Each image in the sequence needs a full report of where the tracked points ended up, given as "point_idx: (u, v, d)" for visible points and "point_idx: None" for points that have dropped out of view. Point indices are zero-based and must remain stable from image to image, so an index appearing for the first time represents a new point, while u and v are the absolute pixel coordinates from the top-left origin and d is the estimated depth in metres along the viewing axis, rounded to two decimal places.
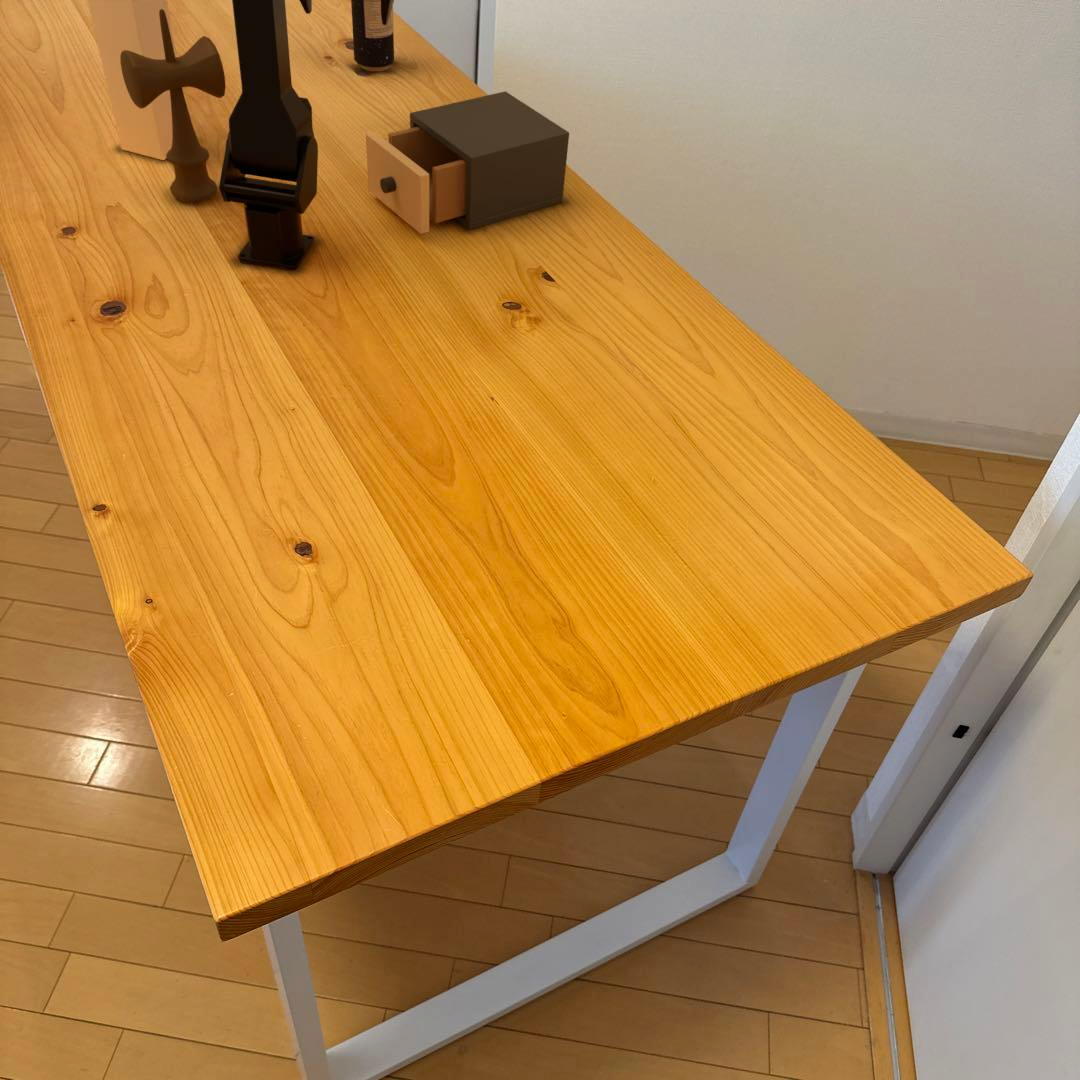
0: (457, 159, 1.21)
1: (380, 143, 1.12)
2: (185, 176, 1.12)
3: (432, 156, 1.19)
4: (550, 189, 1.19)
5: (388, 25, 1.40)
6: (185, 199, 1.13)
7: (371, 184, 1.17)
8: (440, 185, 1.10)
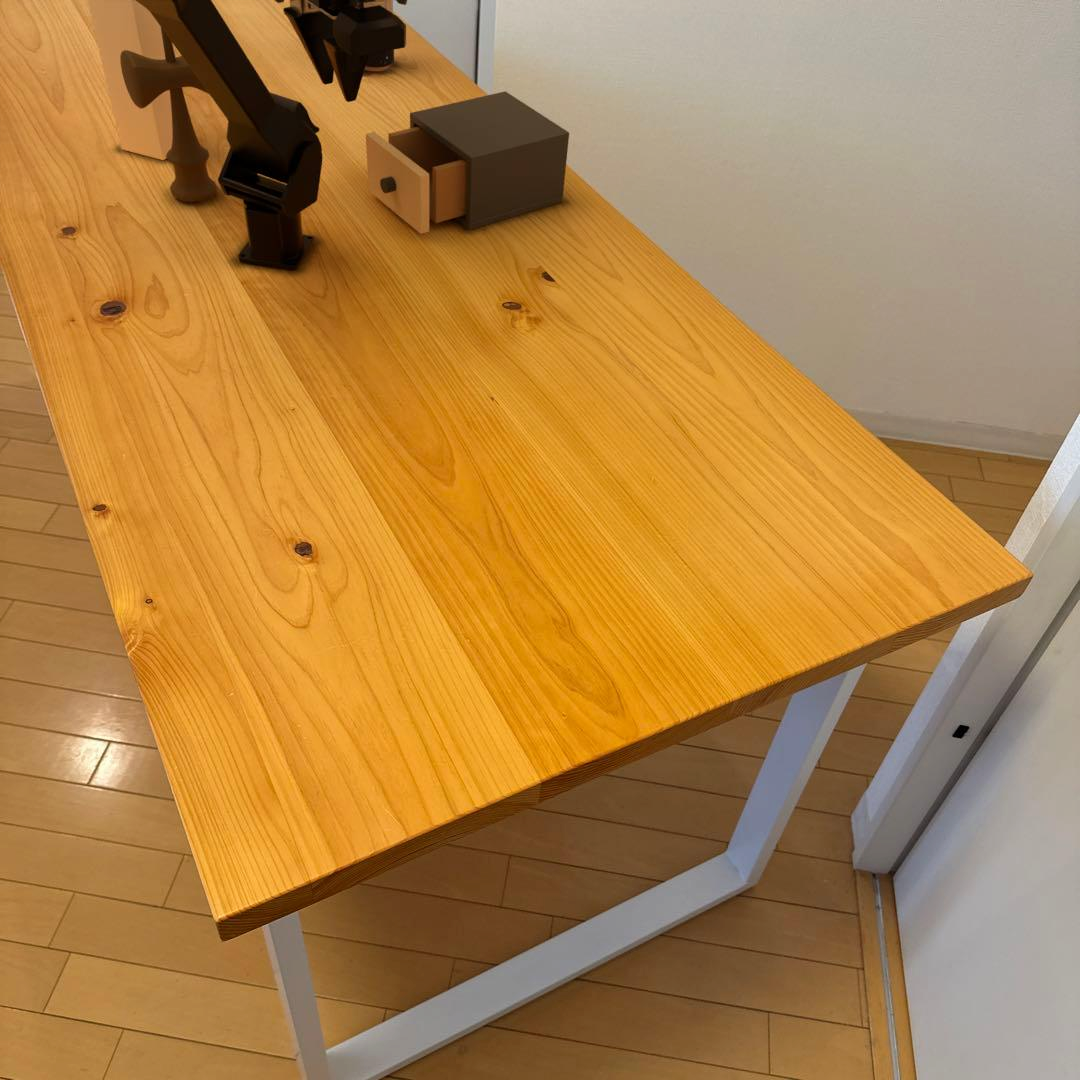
0: (457, 159, 1.21)
1: (380, 143, 1.12)
2: (185, 176, 1.12)
3: (432, 156, 1.19)
4: (550, 189, 1.19)
5: None
6: (185, 199, 1.13)
7: (371, 184, 1.17)
8: (440, 185, 1.10)
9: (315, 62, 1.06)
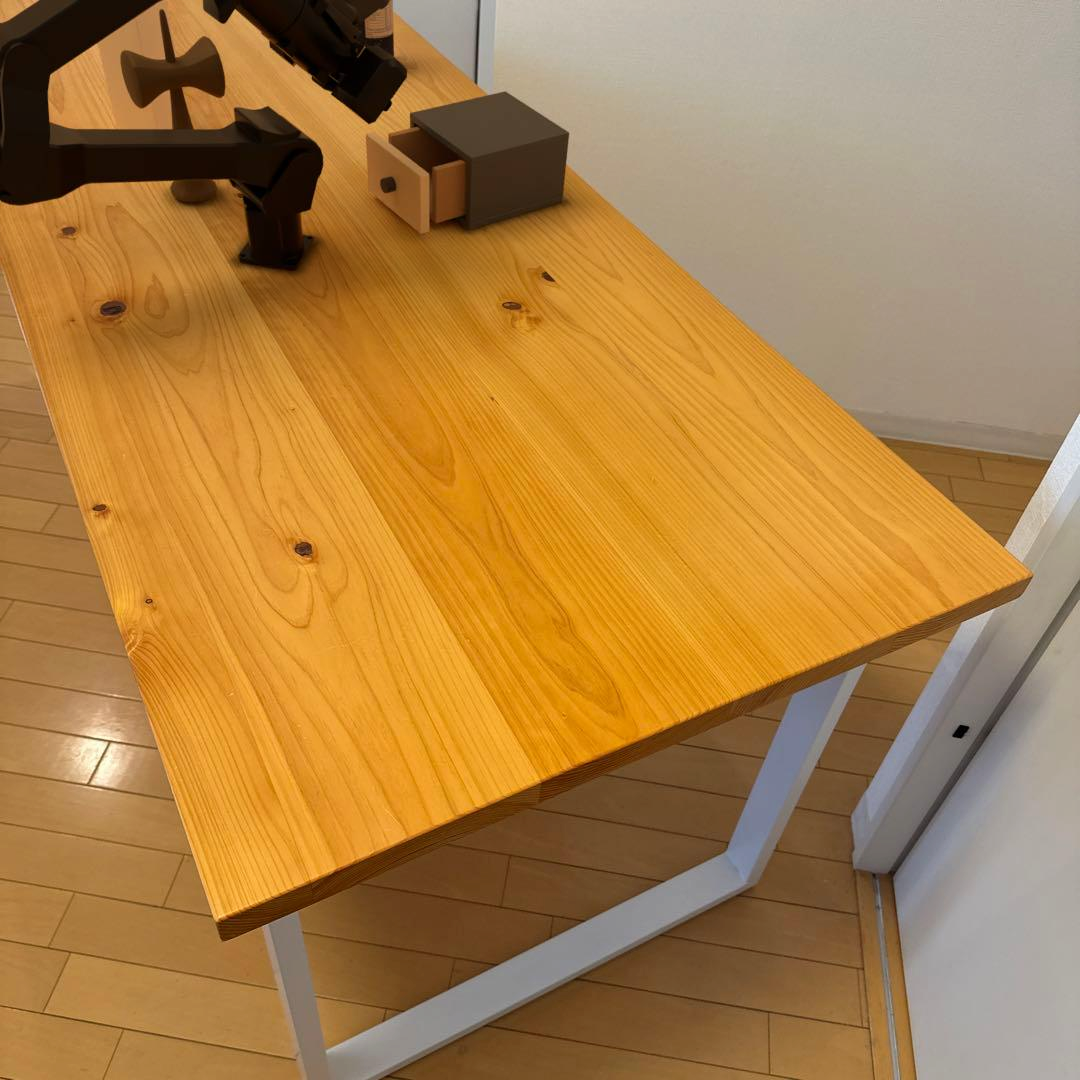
0: (457, 159, 1.21)
1: (380, 143, 1.12)
2: None
3: (432, 156, 1.19)
4: (550, 189, 1.19)
5: (388, 25, 1.40)
6: (185, 199, 1.13)
7: (371, 184, 1.17)
8: (440, 185, 1.10)
9: None
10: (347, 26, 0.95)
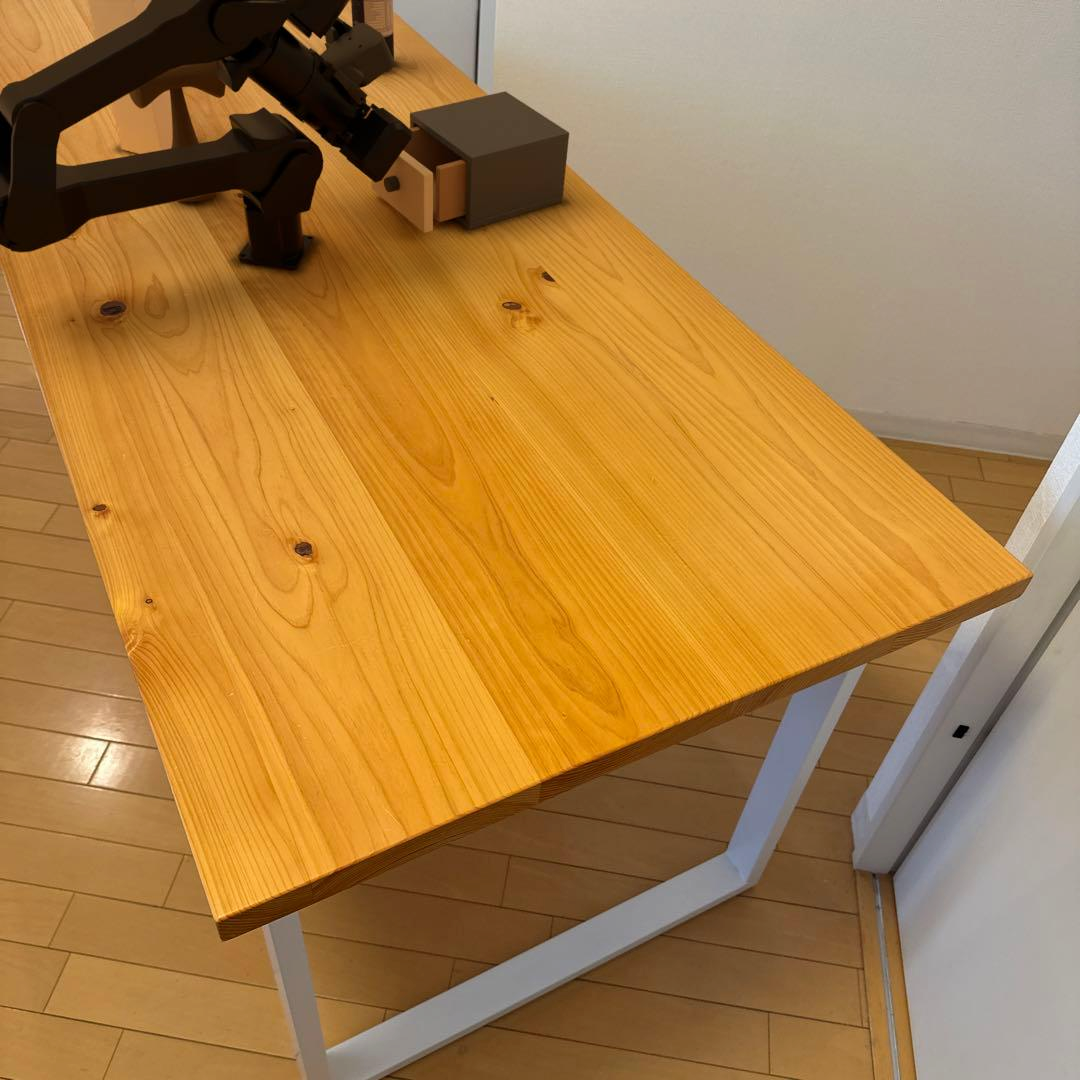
0: (460, 158, 1.21)
1: None
2: None
3: (436, 155, 1.19)
4: (550, 189, 1.19)
5: (388, 25, 1.40)
6: None
7: (375, 184, 1.17)
8: (444, 184, 1.11)
9: None
10: (354, 89, 0.99)
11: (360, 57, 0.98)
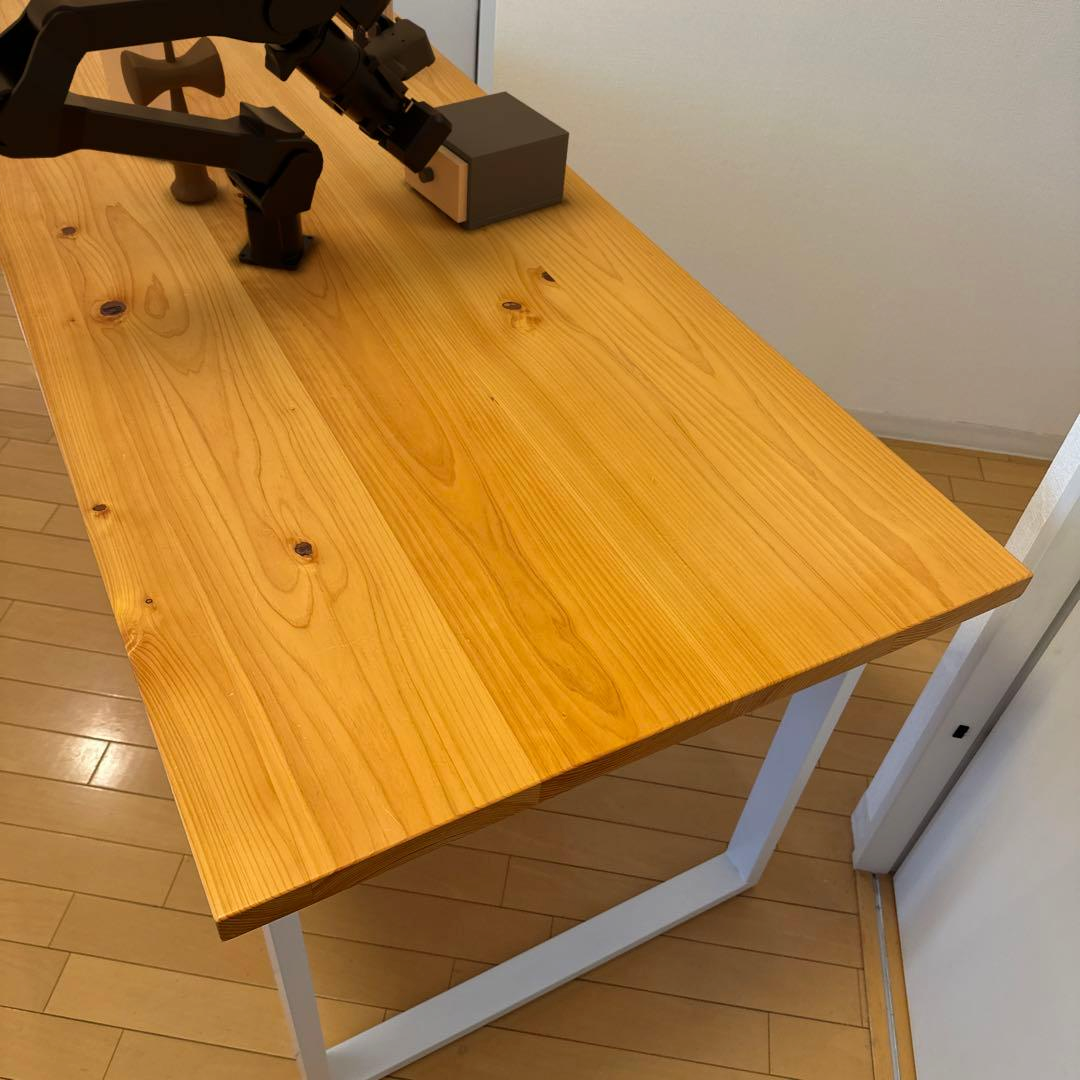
0: None
1: None
2: (185, 176, 1.12)
3: None
4: (550, 189, 1.19)
5: None
6: (185, 199, 1.13)
7: (408, 175, 1.19)
8: None
9: None
10: (396, 83, 1.02)
11: (403, 51, 1.01)
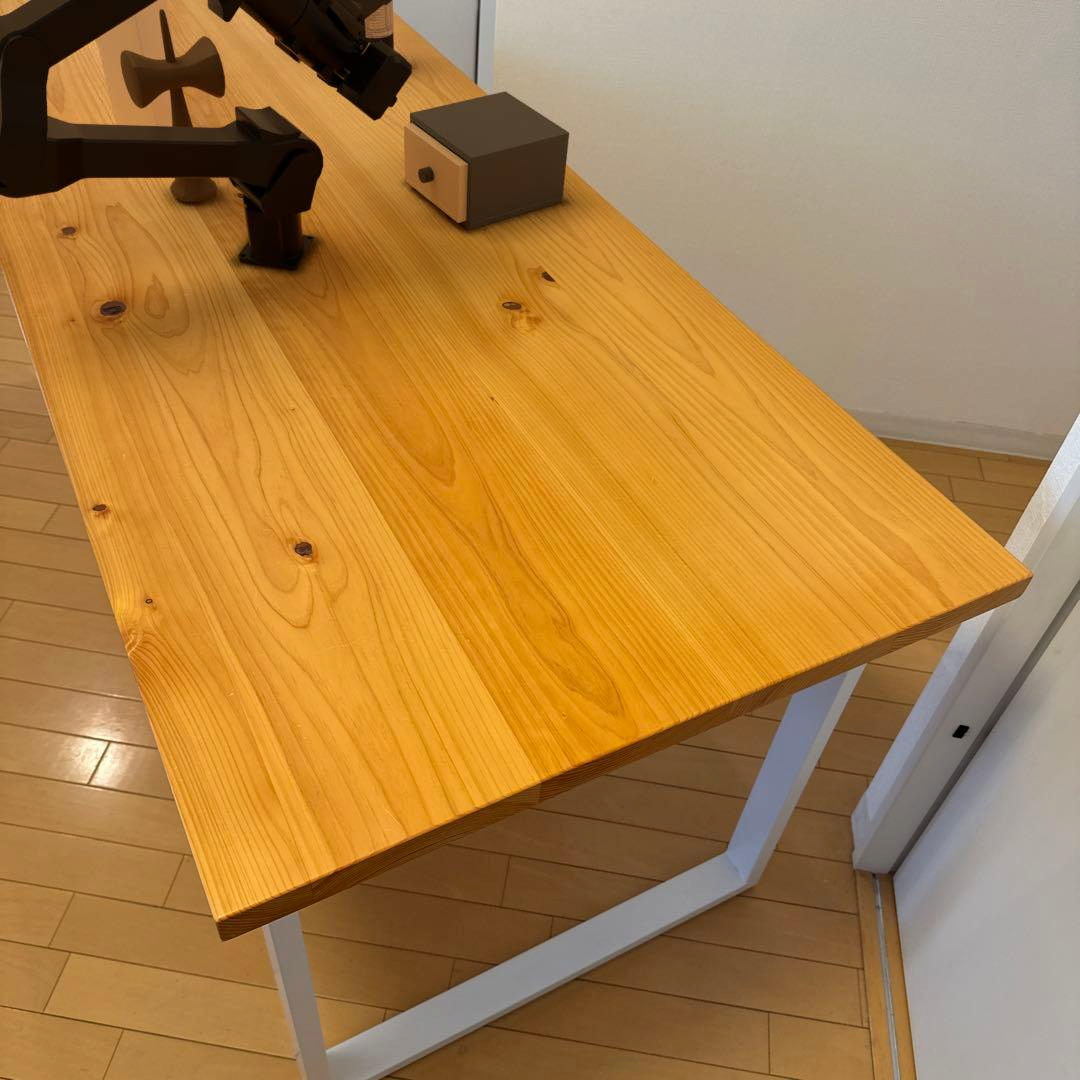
0: None
1: (418, 134, 1.14)
2: None
3: None
4: (550, 189, 1.19)
5: (388, 25, 1.40)
6: (185, 199, 1.13)
7: (408, 175, 1.19)
8: None
9: None
10: (352, 22, 0.95)
11: None
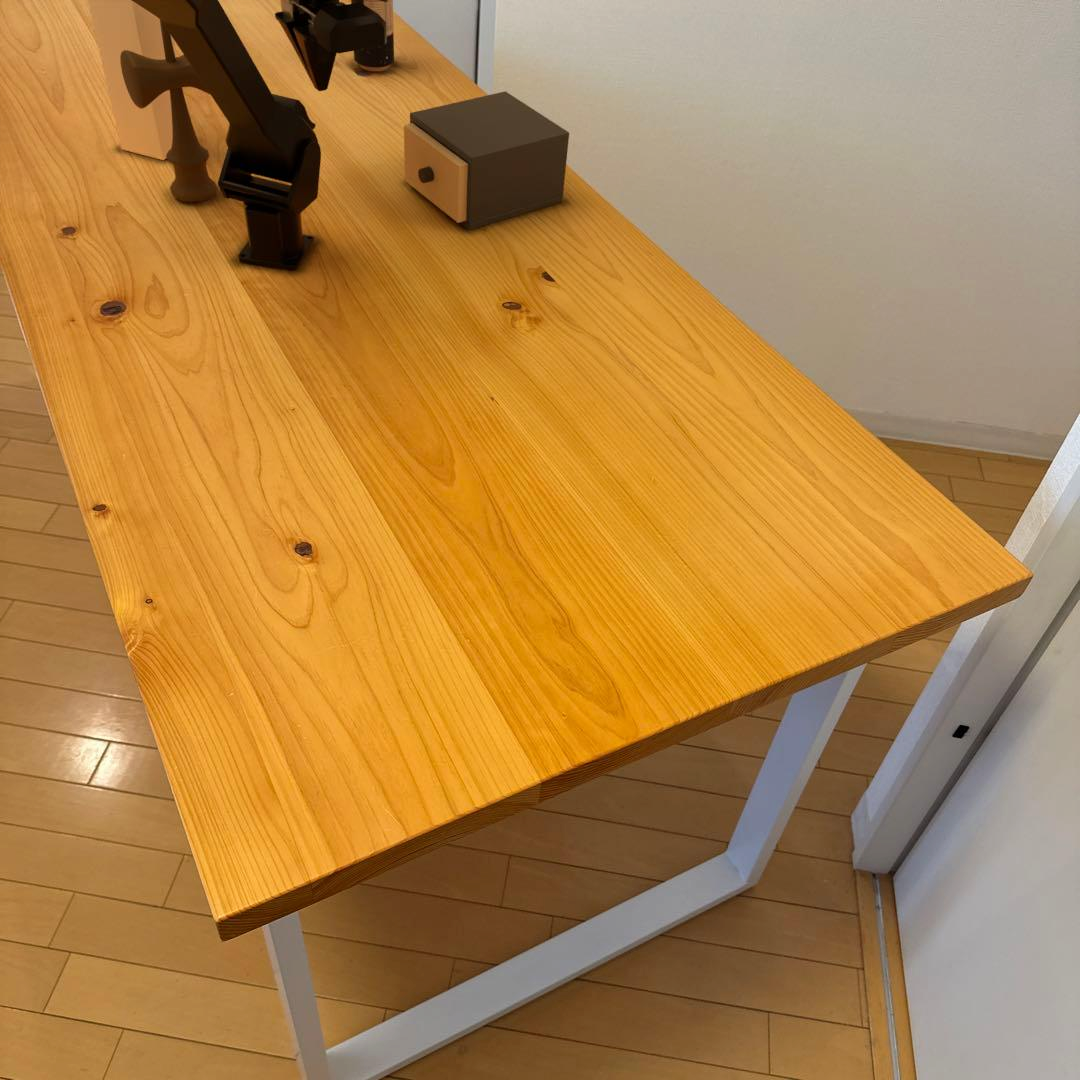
0: None
1: (418, 134, 1.14)
2: (185, 176, 1.12)
3: None
4: (550, 189, 1.19)
5: (388, 25, 1.40)
6: (185, 199, 1.13)
7: (408, 175, 1.19)
8: None
9: (307, 67, 1.05)
10: None
11: None
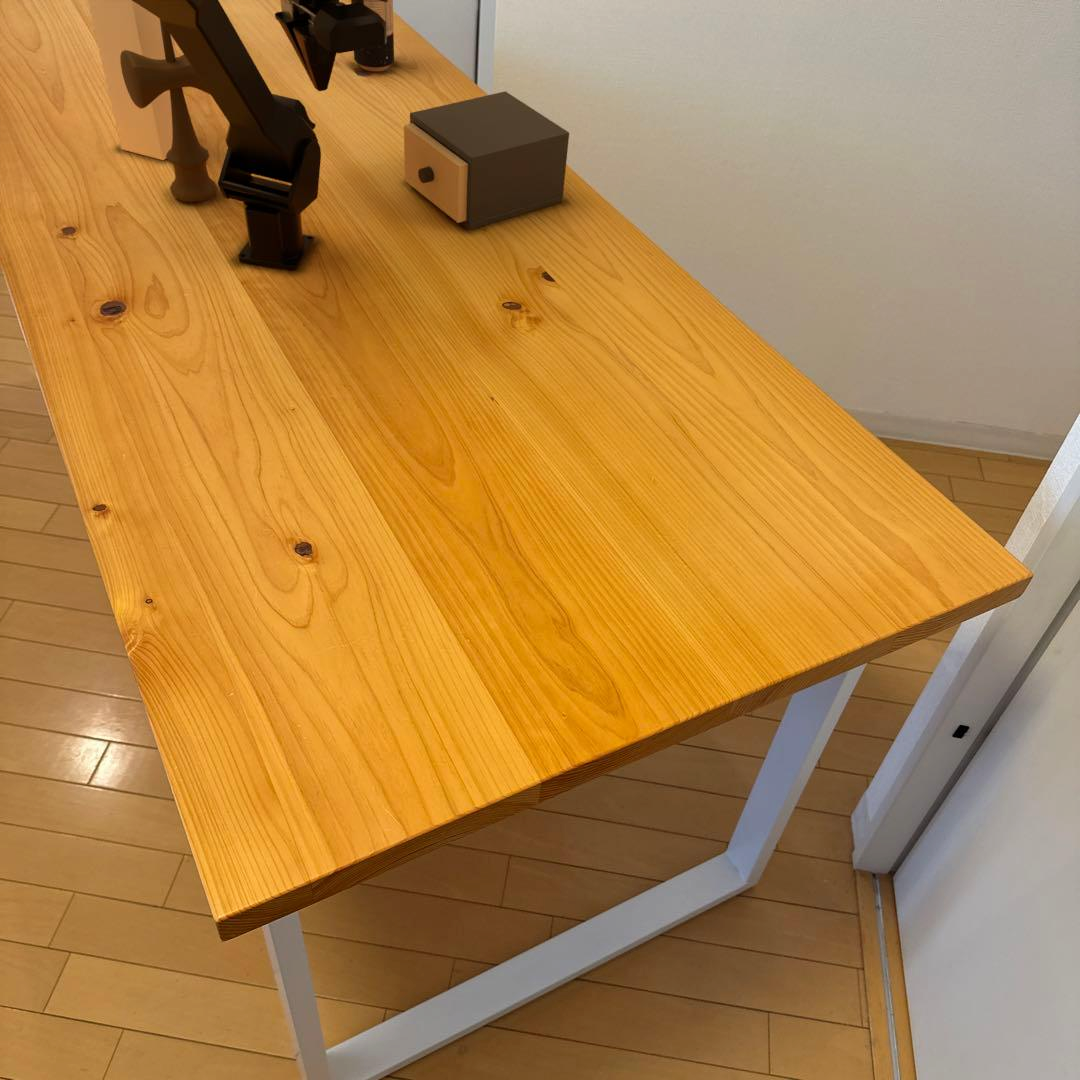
0: None
1: (418, 134, 1.14)
2: (185, 176, 1.12)
3: None
4: (550, 189, 1.19)
5: (388, 25, 1.40)
6: (185, 199, 1.13)
7: (408, 175, 1.19)
8: None
9: (307, 67, 1.05)
10: None
11: None
